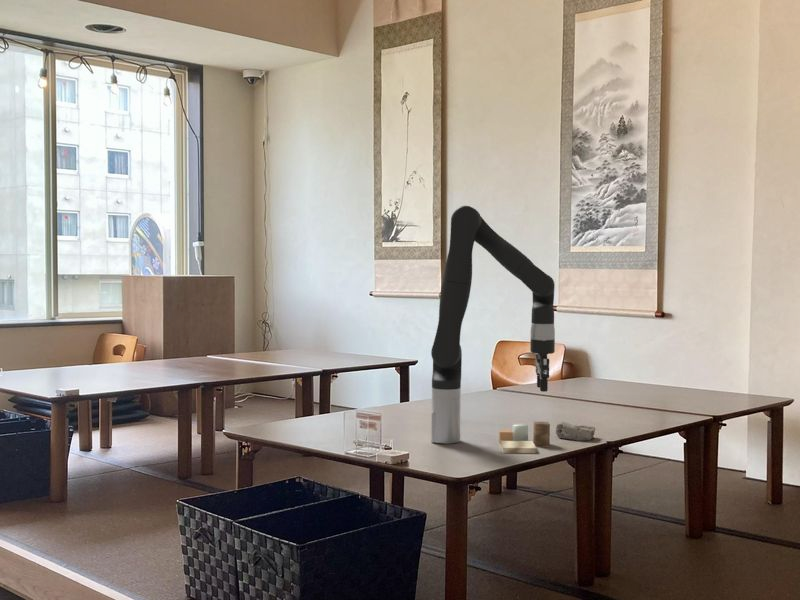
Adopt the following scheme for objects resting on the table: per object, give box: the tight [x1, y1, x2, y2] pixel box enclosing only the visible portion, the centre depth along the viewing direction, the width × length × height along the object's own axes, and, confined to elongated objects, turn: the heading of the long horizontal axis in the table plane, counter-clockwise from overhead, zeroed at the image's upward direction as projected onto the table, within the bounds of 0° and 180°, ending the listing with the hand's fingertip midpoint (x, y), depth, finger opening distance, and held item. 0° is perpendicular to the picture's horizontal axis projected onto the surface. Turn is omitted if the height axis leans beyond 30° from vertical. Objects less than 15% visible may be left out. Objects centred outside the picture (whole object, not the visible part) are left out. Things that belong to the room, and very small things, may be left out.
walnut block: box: [533, 421, 551, 447], centre depth 288 cm, size 4×4×7 cm
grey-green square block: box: [511, 423, 529, 441], centre depth 295 cm, size 5×5×5 cm
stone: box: [555, 421, 596, 442], centre depth 300 cm, size 13×6×10 cm
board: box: [499, 440, 537, 454], centre depth 282 cm, size 10×11×2 cm
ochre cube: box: [498, 429, 513, 444], centre depth 291 cm, size 4×4×4 cm
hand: (542, 389), depth 288 cm, fingers open, 8 cm apart
